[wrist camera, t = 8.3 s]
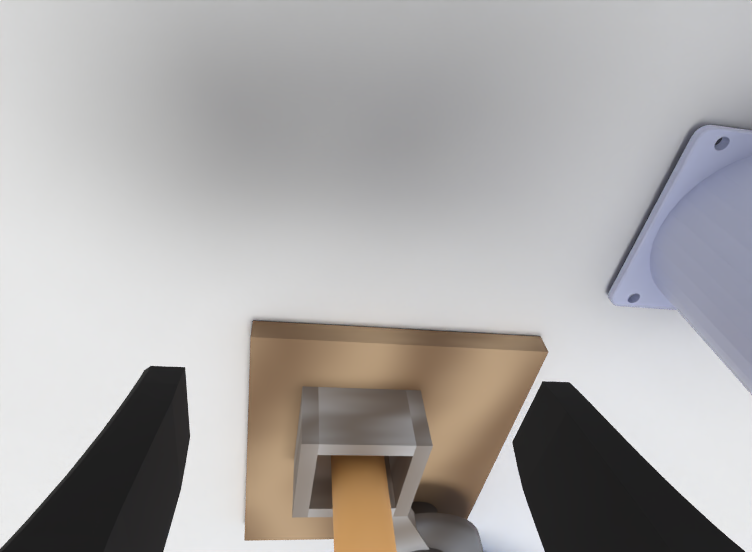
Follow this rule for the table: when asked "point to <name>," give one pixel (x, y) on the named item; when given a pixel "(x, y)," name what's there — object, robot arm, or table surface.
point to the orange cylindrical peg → (361, 504)
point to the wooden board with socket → (380, 424)
